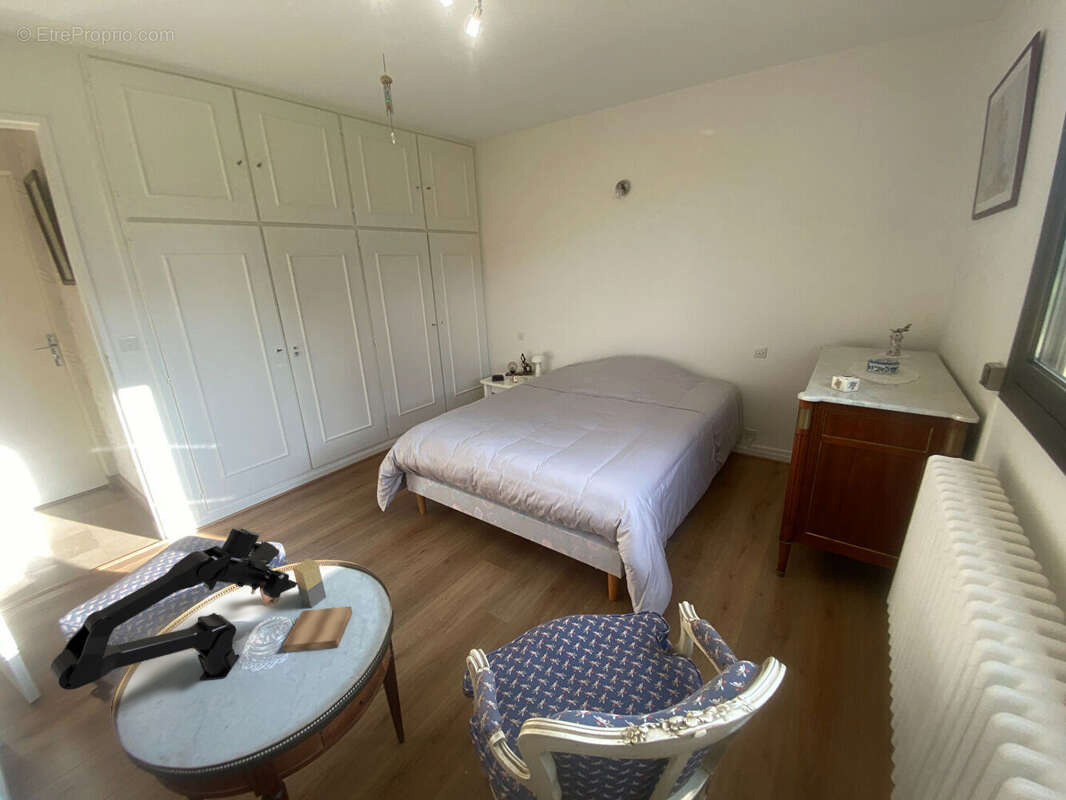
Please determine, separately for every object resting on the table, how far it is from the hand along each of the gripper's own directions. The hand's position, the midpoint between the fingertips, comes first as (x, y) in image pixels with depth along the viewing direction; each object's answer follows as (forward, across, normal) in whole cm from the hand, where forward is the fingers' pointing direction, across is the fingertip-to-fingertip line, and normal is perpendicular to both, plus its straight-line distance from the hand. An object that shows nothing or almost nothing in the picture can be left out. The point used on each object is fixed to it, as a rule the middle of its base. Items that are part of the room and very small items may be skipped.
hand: (286, 579), depth 124 cm
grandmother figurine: (+8, +12, +10) cm, 18 cm away
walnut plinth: (+8, -13, +9) cm, 18 cm away
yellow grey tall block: (+13, 0, +4) cm, 14 cm away
